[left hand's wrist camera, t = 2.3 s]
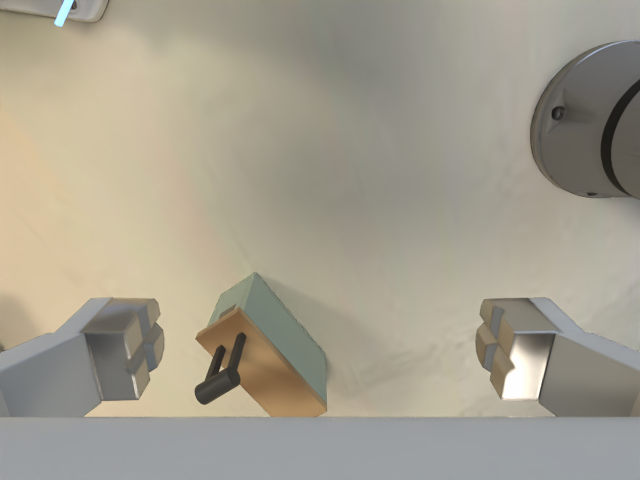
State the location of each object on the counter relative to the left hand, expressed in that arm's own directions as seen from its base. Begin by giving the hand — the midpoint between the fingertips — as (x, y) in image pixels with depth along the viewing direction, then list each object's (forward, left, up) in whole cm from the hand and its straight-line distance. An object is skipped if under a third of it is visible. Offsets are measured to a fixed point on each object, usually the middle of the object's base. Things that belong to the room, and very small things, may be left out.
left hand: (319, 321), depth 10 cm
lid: (-7, -23, -26) cm, 36 cm away
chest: (-7, -23, -35) cm, 43 cm away
